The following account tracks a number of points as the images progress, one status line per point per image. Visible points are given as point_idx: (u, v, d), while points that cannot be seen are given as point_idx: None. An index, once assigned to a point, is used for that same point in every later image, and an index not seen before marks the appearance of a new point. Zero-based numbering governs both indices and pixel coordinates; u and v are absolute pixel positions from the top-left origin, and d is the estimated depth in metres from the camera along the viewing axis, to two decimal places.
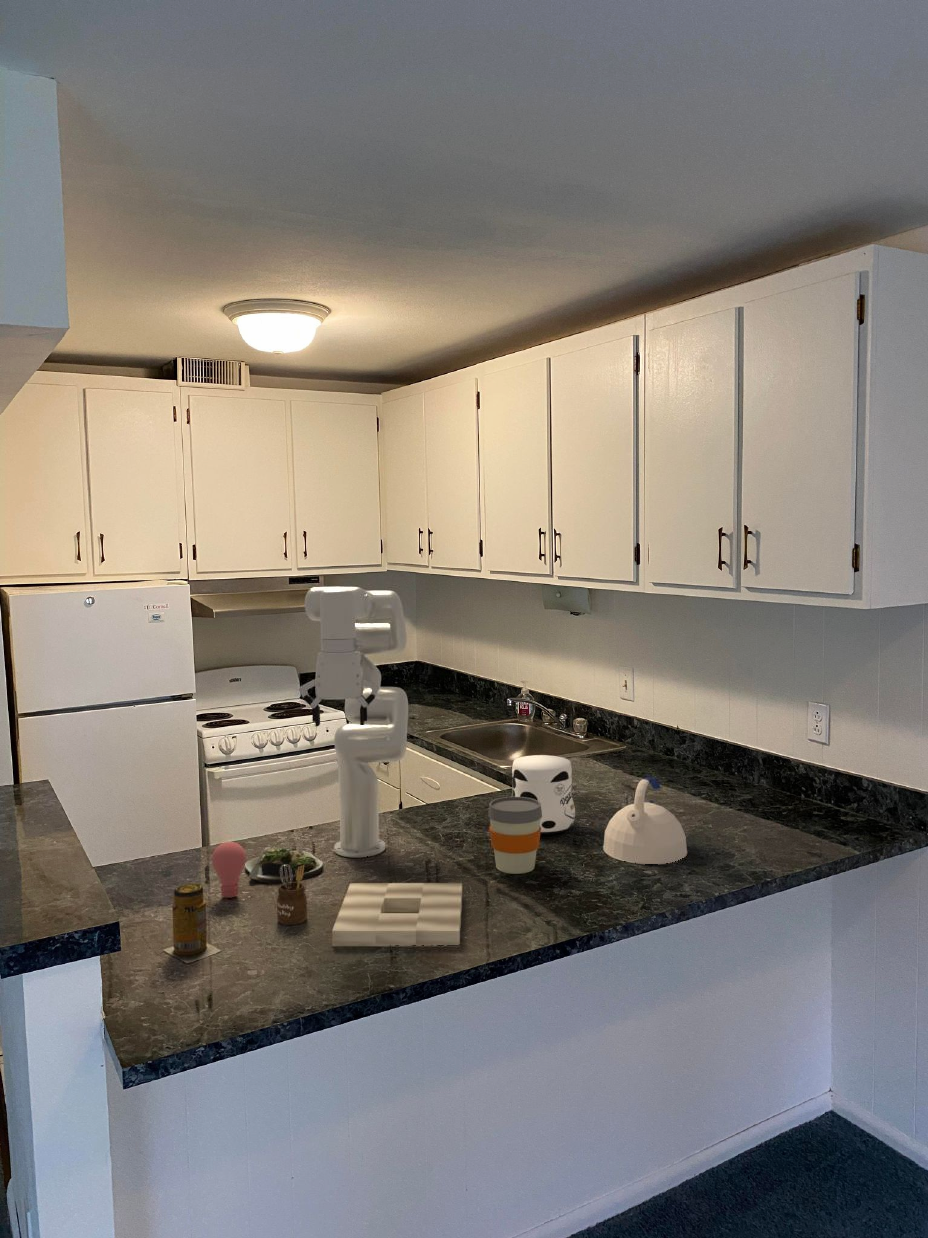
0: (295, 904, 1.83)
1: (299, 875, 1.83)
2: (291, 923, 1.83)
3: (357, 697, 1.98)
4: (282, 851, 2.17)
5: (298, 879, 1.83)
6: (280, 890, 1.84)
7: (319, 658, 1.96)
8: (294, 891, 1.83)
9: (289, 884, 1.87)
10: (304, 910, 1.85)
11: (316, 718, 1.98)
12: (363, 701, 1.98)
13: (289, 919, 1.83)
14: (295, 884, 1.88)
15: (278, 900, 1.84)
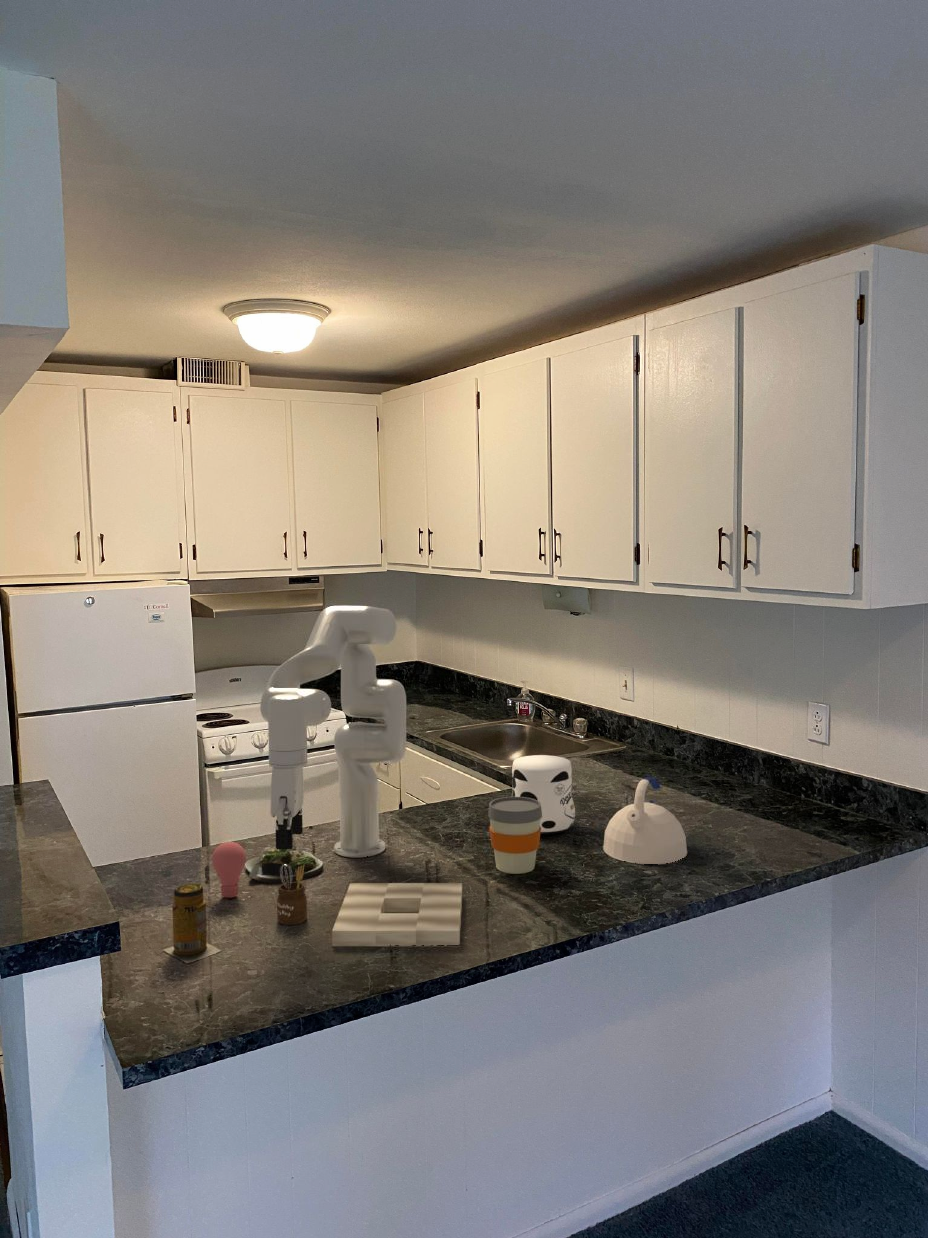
0: (295, 904, 1.83)
1: (299, 875, 1.83)
2: (291, 923, 1.83)
3: None
4: (282, 851, 2.17)
5: (298, 879, 1.83)
6: (280, 890, 1.84)
7: (293, 773, 1.79)
8: (294, 891, 1.83)
9: (289, 884, 1.87)
10: (304, 910, 1.85)
11: (292, 840, 1.79)
12: (301, 808, 1.89)
13: (289, 919, 1.83)
14: (295, 884, 1.88)
15: (278, 900, 1.84)
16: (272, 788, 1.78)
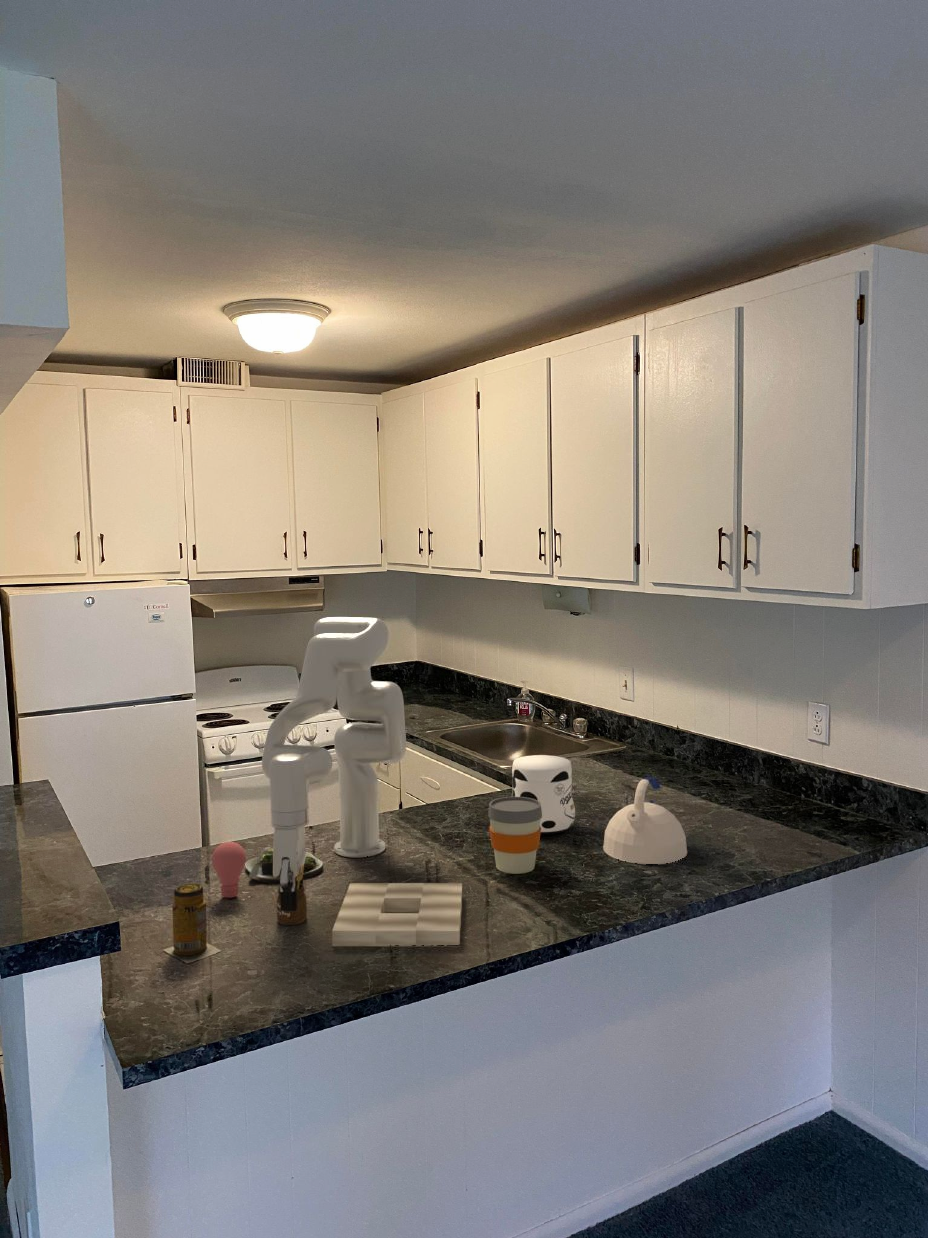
0: None
1: (299, 875, 1.83)
2: (291, 923, 1.83)
3: None
4: None
5: (298, 879, 1.83)
6: None
7: (295, 834, 1.80)
8: None
9: None
10: (304, 910, 1.84)
11: (296, 901, 1.82)
12: None
13: (288, 919, 1.83)
14: (295, 884, 1.87)
15: (278, 900, 1.84)
16: (274, 849, 1.80)
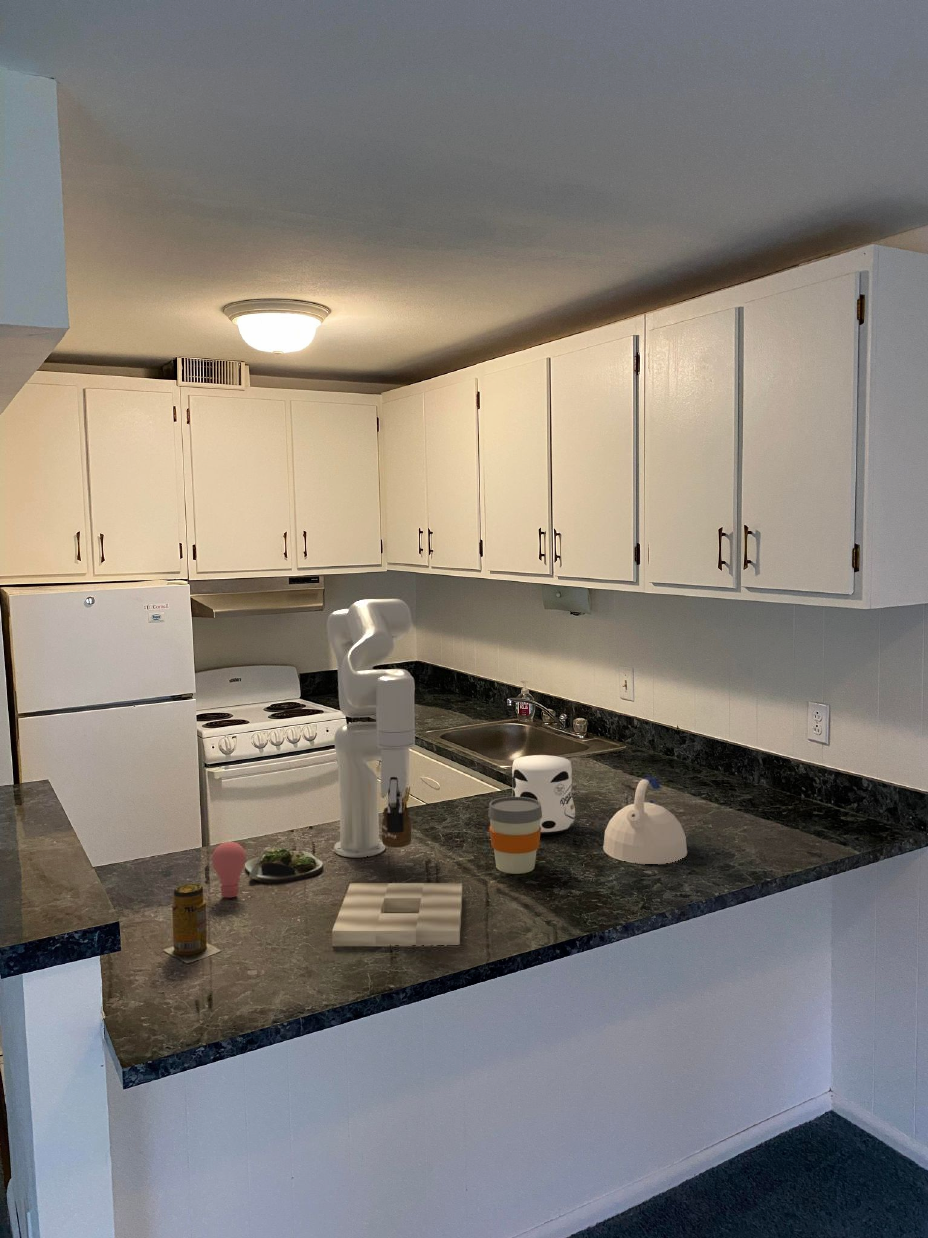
0: None
1: (405, 797, 1.81)
2: (397, 845, 1.81)
3: None
4: (282, 851, 2.17)
5: (404, 801, 1.81)
6: (385, 812, 1.82)
7: (403, 754, 1.78)
8: None
9: None
10: (409, 833, 1.83)
11: (403, 823, 1.80)
12: None
13: (395, 841, 1.81)
14: None
15: (383, 822, 1.82)
16: (382, 769, 1.78)
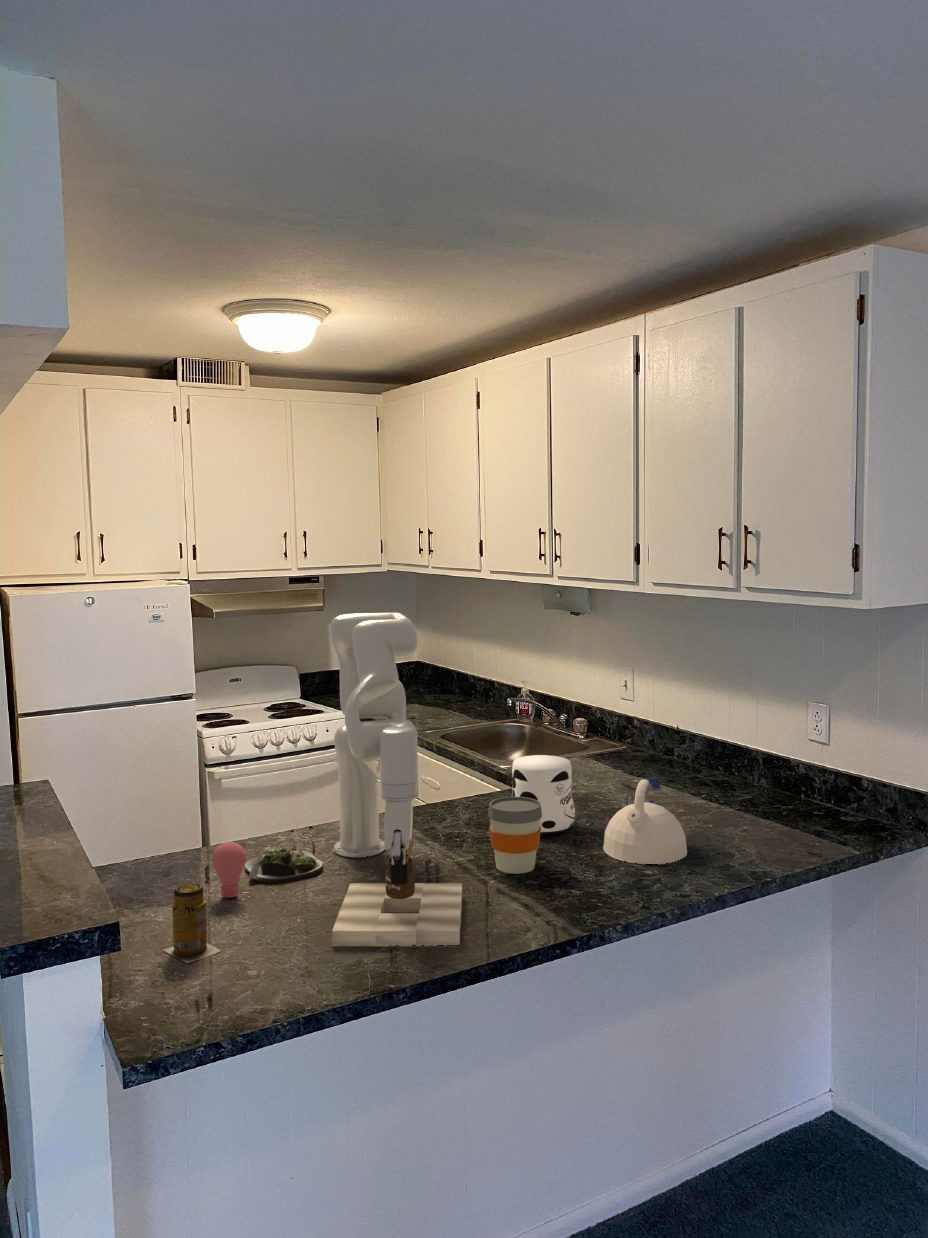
0: None
1: (409, 848, 1.82)
2: (401, 897, 1.82)
3: None
4: (282, 851, 2.17)
5: (408, 853, 1.82)
6: (389, 864, 1.83)
7: (407, 806, 1.79)
8: None
9: None
10: (413, 884, 1.83)
11: None
12: None
13: (398, 892, 1.82)
14: None
15: (387, 874, 1.83)
16: (386, 822, 1.79)
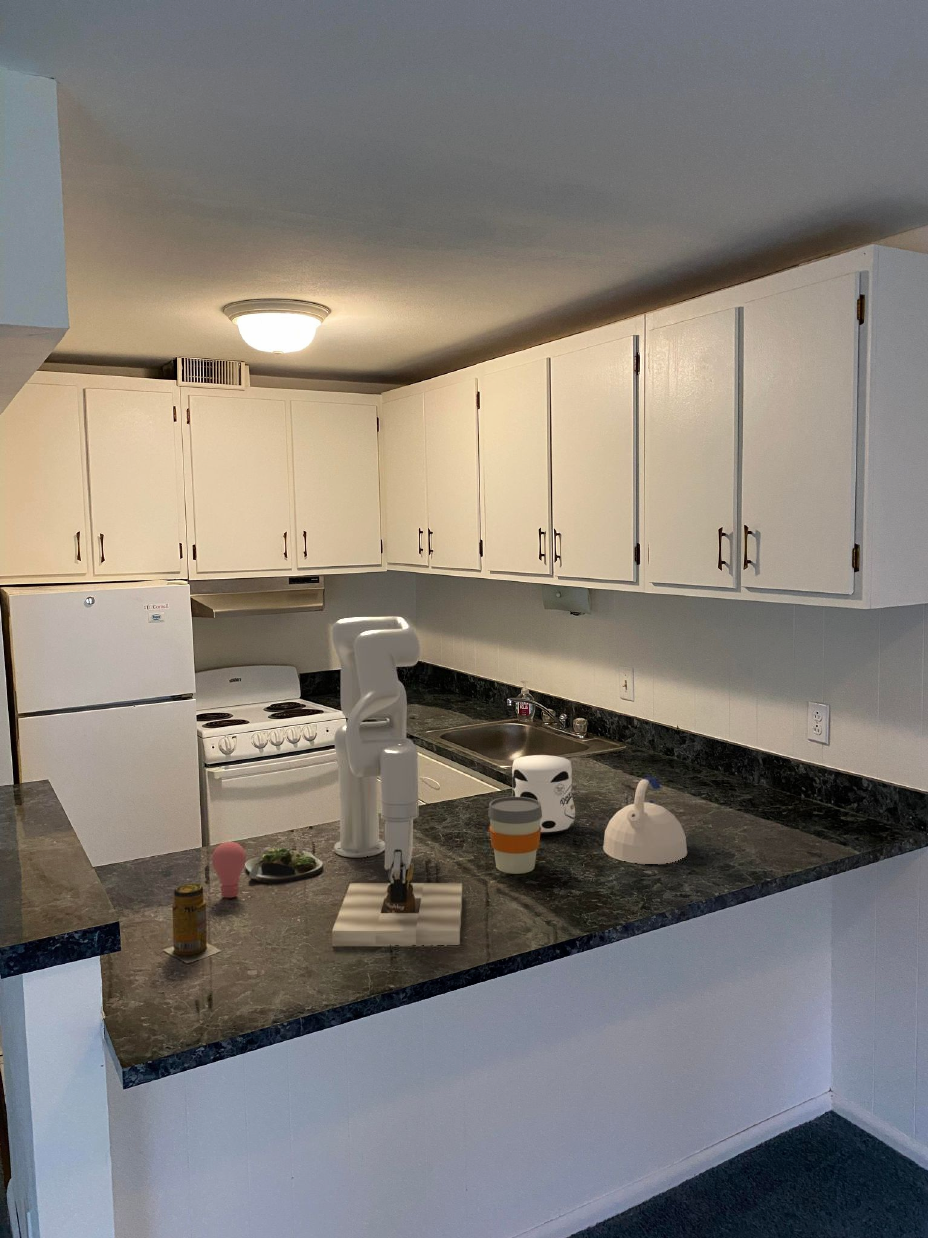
0: (405, 904, 1.82)
1: (409, 875, 1.83)
2: None
3: None
4: (282, 851, 2.17)
5: (408, 879, 1.83)
6: None
7: (407, 826, 1.80)
8: None
9: None
10: (413, 910, 1.84)
11: (406, 893, 1.80)
12: None
13: None
14: None
15: (388, 900, 1.84)
16: (386, 841, 1.79)
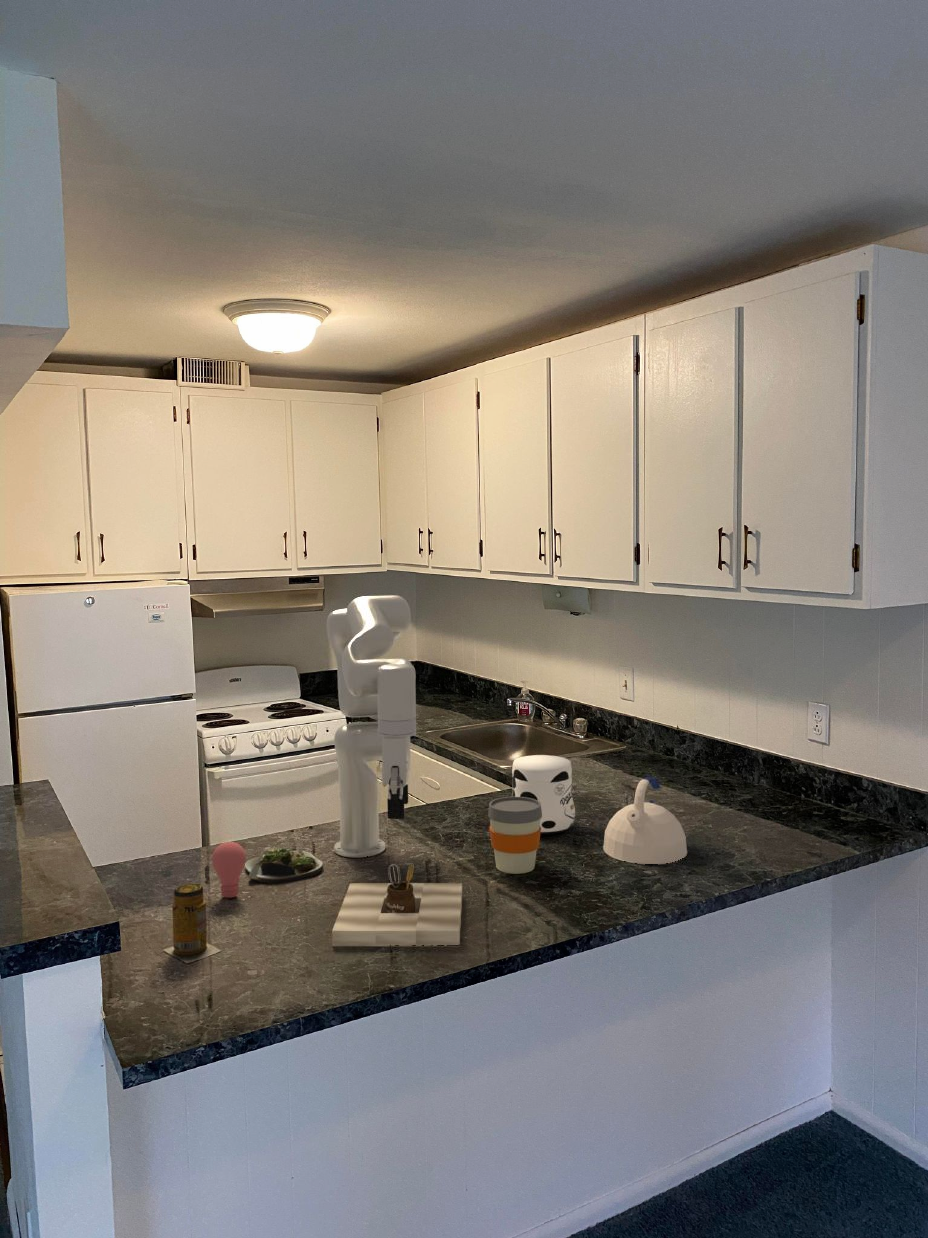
0: (405, 904, 1.82)
1: (409, 875, 1.83)
2: None
3: None
4: (282, 851, 2.17)
5: (408, 879, 1.83)
6: (390, 890, 1.83)
7: (405, 742, 1.79)
8: (404, 891, 1.83)
9: (397, 884, 1.87)
10: (413, 910, 1.84)
11: None
12: None
13: None
14: (402, 884, 1.87)
15: (388, 900, 1.84)
16: (384, 758, 1.78)
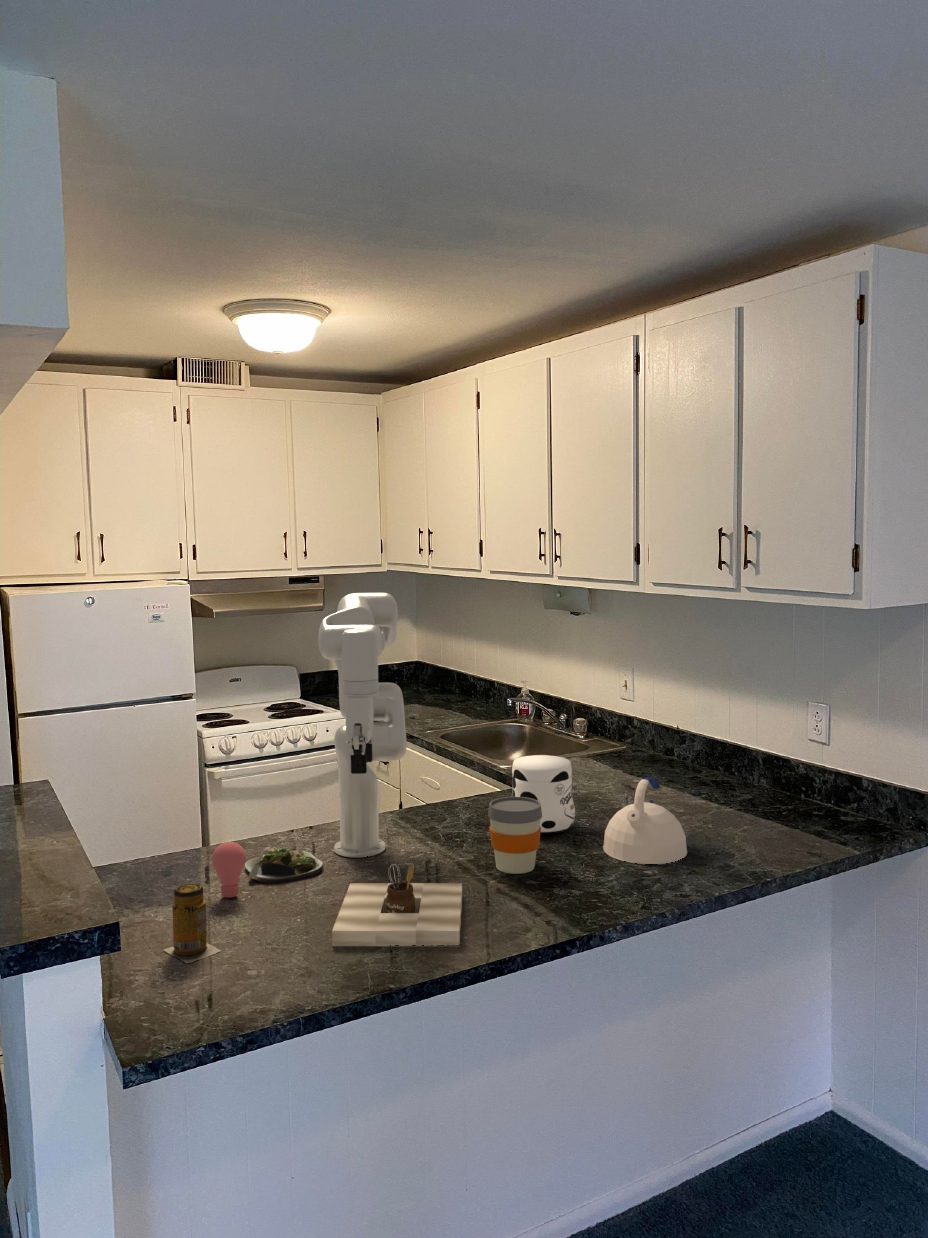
0: (405, 904, 1.82)
1: (409, 875, 1.83)
2: None
3: None
4: (282, 851, 2.17)
5: (408, 879, 1.83)
6: (390, 890, 1.83)
7: (367, 701, 1.90)
8: (404, 891, 1.83)
9: (397, 884, 1.87)
10: (413, 910, 1.84)
11: (366, 764, 1.90)
12: None
13: None
14: (403, 884, 1.87)
15: (388, 900, 1.84)
16: (347, 716, 1.89)
